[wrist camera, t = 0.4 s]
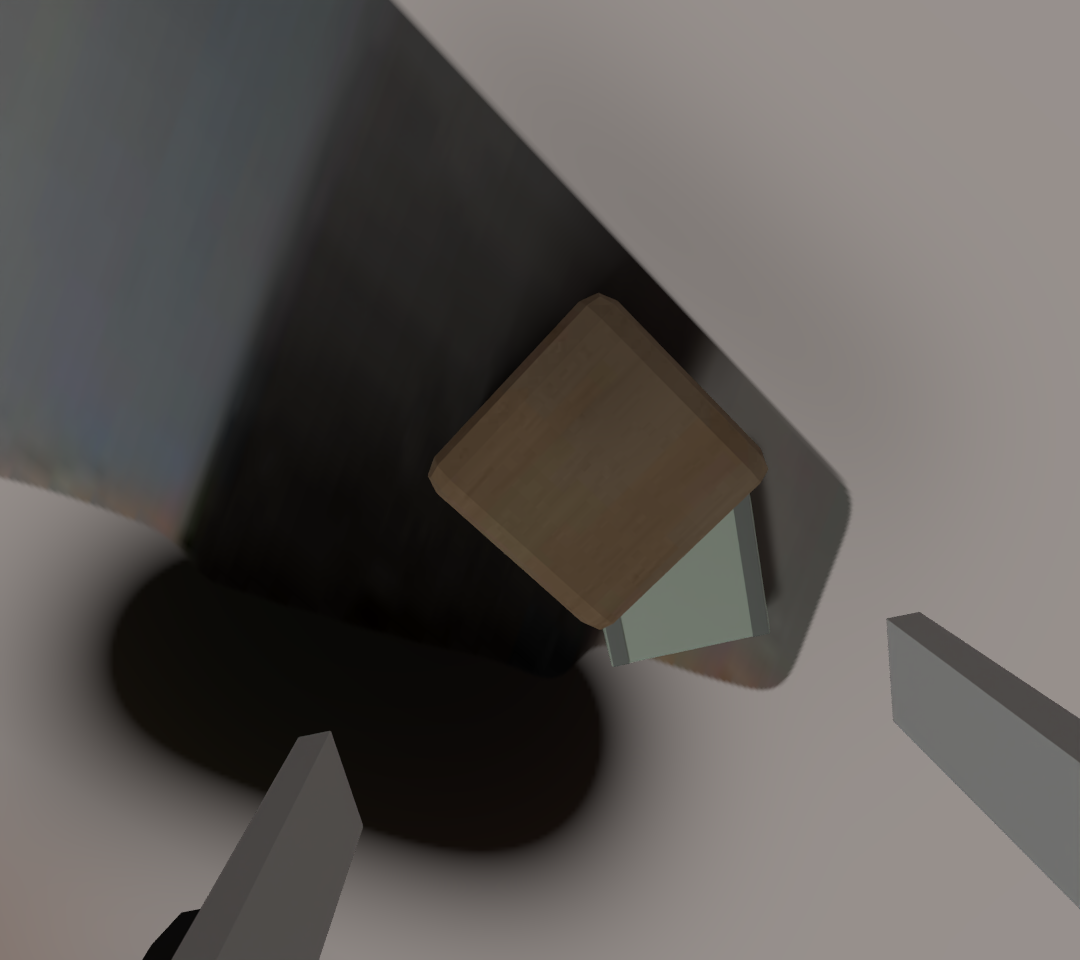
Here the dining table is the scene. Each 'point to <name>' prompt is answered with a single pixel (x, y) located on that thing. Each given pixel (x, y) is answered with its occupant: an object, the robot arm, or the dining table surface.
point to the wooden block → (598, 463)
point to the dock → (698, 597)
